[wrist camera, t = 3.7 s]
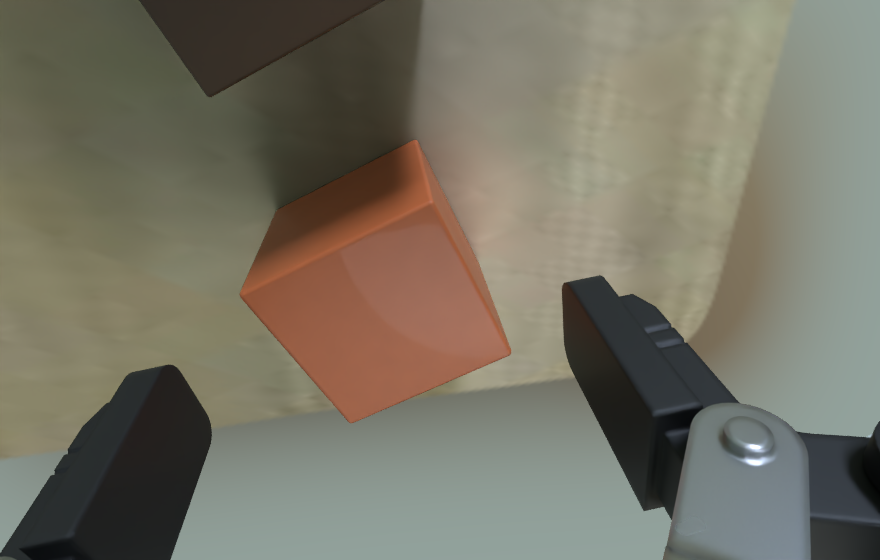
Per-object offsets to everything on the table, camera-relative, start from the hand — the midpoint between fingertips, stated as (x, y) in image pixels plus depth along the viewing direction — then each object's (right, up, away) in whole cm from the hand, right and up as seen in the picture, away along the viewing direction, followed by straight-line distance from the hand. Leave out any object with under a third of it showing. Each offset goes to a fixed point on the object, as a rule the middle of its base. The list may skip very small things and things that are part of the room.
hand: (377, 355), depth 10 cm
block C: (0, +3, +5) cm, 6 cm away
